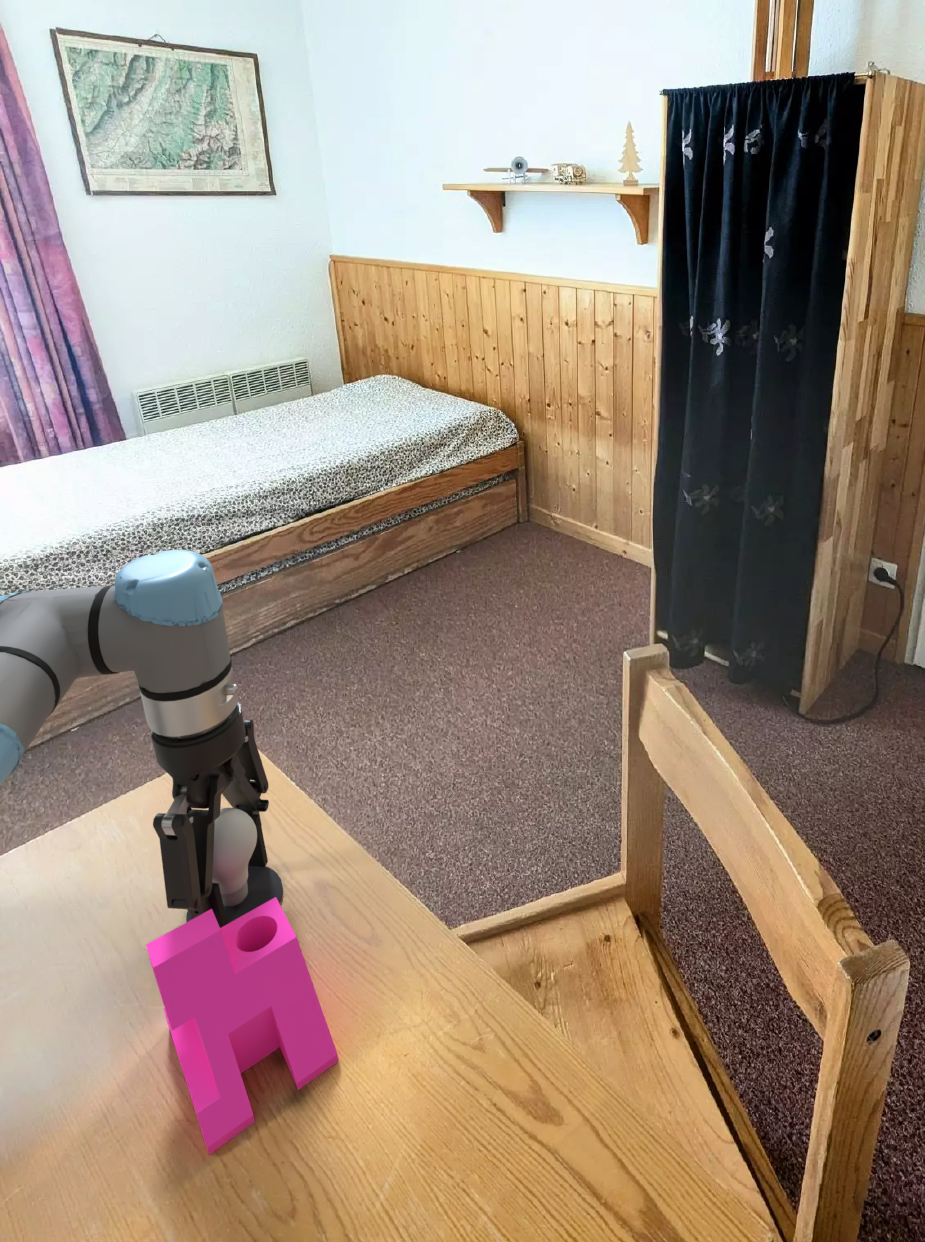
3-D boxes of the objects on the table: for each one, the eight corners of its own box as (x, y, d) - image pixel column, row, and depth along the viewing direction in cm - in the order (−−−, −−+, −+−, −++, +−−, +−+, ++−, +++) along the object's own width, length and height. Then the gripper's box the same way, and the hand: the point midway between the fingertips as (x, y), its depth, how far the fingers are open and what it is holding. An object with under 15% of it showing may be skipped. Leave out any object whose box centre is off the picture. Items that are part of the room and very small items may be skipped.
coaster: (168, 942, 75) (167, 939, 74) (215, 864, 83) (215, 861, 83) (258, 948, 74) (257, 945, 74) (297, 869, 82) (296, 866, 82)
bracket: (169, 1028, 67) (145, 944, 64) (287, 956, 73) (271, 875, 70) (208, 1154, 59) (184, 1065, 55) (338, 1060, 65) (324, 975, 61)
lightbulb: (281, 888, 80) (266, 805, 76) (233, 938, 75) (214, 852, 71) (238, 867, 82) (221, 786, 78) (189, 914, 77) (168, 829, 73)
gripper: (171, 801, 61) (219, 1001, 68) (283, 650, 80) (311, 820, 88) (80, 797, 61) (138, 996, 69) (213, 647, 80) (247, 817, 88)
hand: (235, 897), depth 78 cm, fingers open, 8 cm apart
